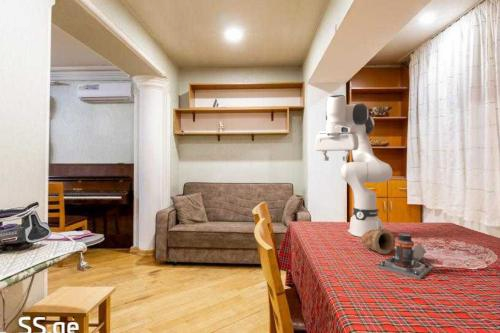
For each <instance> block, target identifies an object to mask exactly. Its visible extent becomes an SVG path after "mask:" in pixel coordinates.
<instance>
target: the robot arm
mask: <svg viewBox="0 0 500 333" xmlns="http://www.w3.org/2000/svg"><path fill="white" fill-rule="evenodd" d="M326 103H327V104H326V109H325V110H326V111H325V120H326V124H325V131H318V132H317V133H316V136H315V143H314V149H315V151H317V152H321V155H322V156H323V161H324V162H325V161H329V160H330V159H329V158H330V157H329V156H327V153H328V152H334V151H336V152H339V151H344V153H345V154H344V156H342V161H344V163H343V164H342V166H341V168H340V176H341V178H342V179H343V181H345V182H346V183H347V184H348V185H349V186H350V188H351V190H352V194H353V201H354V203H353V209H352V216H351V217H350V224H349V228H348V229H347V232H348V233H349V234H350V235H353V236H356V237H358V238H359V237H360V238H361V237H362V235H363V234H365V232H367V231H370V230H376V229H384V226H383V225H384V224H383V221H382V220H381V219H380V218H379V214H378V213H380V209H379V208H377V198H378V197H377V194H376V193H375V191H373V190H372V189H369V188H367V187H366V186H365V184H366V183H368V184H369V183H373V184H375V183H377V184H378V183H385V182H389V181H390V180H391V178H392V176H393V169H392V167H391V165H390V164H389V163H386V162H384V161H383V160H380V159H379V158H378V157H377V156H375V154H374V150H373V147H372V144H371V141H370V140H369V137H368V135H369V136H371V133H372V132H373V131H374V129H375V120H374V118H373V117H372V116H371V115H370V114H369V108H368V106H367V105H366V104H364V103H363V102H362V103H356V104H355V103H354V104H347V99H346V95H344V94H343V95H342V94H336V95H335V94H334V95H330V96H329V97H328V98H327V102H326ZM350 155H351V156H352V160H353V161H350V162H348V158H349V157H350ZM345 161H346V162H345Z"/></svg>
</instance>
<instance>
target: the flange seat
mask: <svg viewBox="0 0 500 333" xmlns="http://www.w3.org/2000/svg"><path fill="white" fill-rule="evenodd" d="M425 253H426V254H427V251H426V249H425V248H424V247H423V246H421V245H414V266H413V267H411V268H406V267H402V266H398V265H397V264H396V263H395V255H392V256H390V257H388V258H387V259H385V260H384V261H382V262H380V263H378V264H377V266H376V268H378V269H382V270H384V271H388V272H392V273H396V274H400V275H403V276H408V277H411V278H415V279H417V280H421V279H422V278H423V277H425V275H427V274H428V273H429V272H430V271H431V270H432V269H433V266H432V265H430V264H429V263H426V262H424V264H423V263H422V262H421V260H422V259H424V258H423V256H424V254H425Z"/></svg>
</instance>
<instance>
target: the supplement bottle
mask: <svg viewBox="0 0 500 333" xmlns="http://www.w3.org/2000/svg"><path fill="white" fill-rule="evenodd" d="M414 247H415V243H414V241H413V240H412V235H411V234H409V233H404V232H403V233H398V238H397V239H395V255H394V256H395V263H396V264H397V265H398V266H402V267H406V268H411V267H413V266H414Z"/></svg>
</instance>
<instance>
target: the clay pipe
mask: <svg viewBox="0 0 500 333" xmlns="http://www.w3.org/2000/svg"><path fill="white" fill-rule="evenodd" d="M395 238H396V237H395V235H394V234H393V233H392V232H391V231H390V229H388V228H383V229H376V230H370V231H367V232H365V234H363V235H362V237H360V241H361V242H362V244H364V245H365V247H366V248H367V249H370V250H371V251H373V252H377V253H378V254H380V255H388V254H390V253H391V252H393V250H394V248H395V247H396V239H395Z"/></svg>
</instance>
